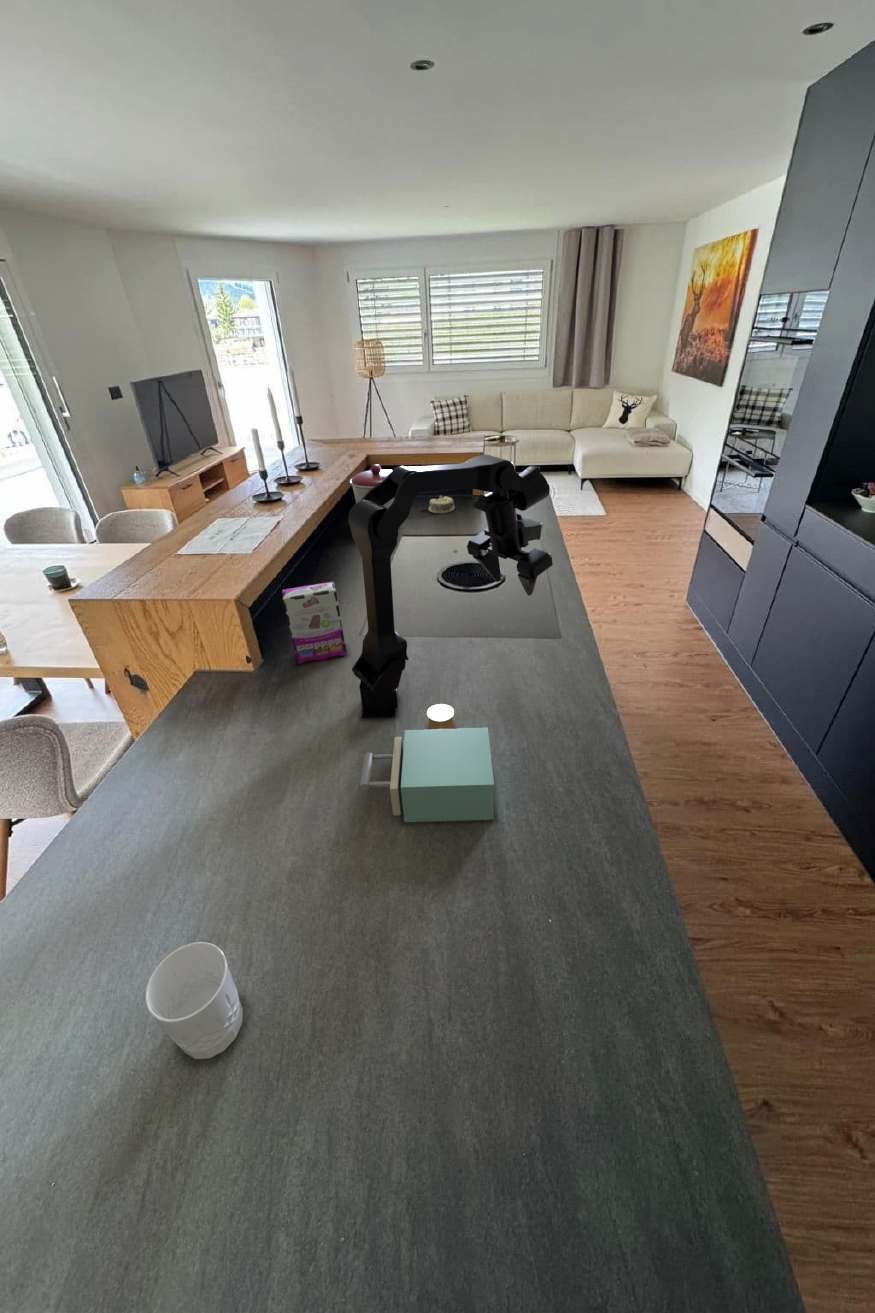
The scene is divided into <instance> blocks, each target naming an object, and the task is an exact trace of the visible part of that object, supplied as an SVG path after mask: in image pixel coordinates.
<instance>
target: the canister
mask: <svg viewBox="0 0 875 1313" xmlns="http://www.w3.org/2000/svg"><path fill="white" fill-rule="evenodd" d="M392 470H393V469H382V466H381V465H380V464H378V463H377V464H372V465H371V466H370V469H369V470H365V471H361V472H359V473H357V474H355V475H354V476H353V477H351V478H350V479H349V484H350V485H351V486H352V491H353V496H354V499H355V504H356V503H358V502H359V501H361V500H362V499H363V497H364V496H365V495H366V494H367V492H368V491H369V490H371V489H372V488H373V487H375V486H376V485H378V484H379V483H380V482H382V481H383V480H385V479H386V478H387V476H388V475H389V474H390V473H391V471H392ZM393 500H394V498H393V499H392V500H390V501H389V502H387V503H386V504H384V505H383V507H386V508H389V506H390V505H391V504H392V503H393Z"/></svg>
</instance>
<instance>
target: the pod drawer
mask: <svg viewBox="0 0 875 1313" xmlns="http://www.w3.org/2000/svg"><path fill="white" fill-rule="evenodd" d="M403 748H404V742H403V737H402V736H395V737H394V741H393V751H392V753H385V754H384V753H382V754H381V753H380V754H373V753H372V752H370V751H367V752H365V753H364V756H363V762H362V769H361V776H360V782H359V788H360V789H361V790H362V791H367V790H369V789H370V788H389V792H390V793H389V795H390V801H391V809H392V815H393V816H402V807H403V804H402V795H401V775H402V762H403ZM374 760H391V761H392V763H391V773H390V781H389V780H388V781H387V780H386V781H371V775H372V769H373V761H374Z"/></svg>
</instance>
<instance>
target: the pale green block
mask: <svg viewBox="0 0 875 1313" xmlns="http://www.w3.org/2000/svg"><path fill="white" fill-rule="evenodd" d="M491 754H492V753H491V745H490V737H489V728H488V727H464V728H453V729H429V728H428V729H405V730H404V737H403V762H402V775H401V795H402V810H403V811H402V812H403V821H404V823H426V822H429V823H430V822H461V821H462V822H463V821H493V820H494V818H495V816H494V814H495V811H494V810H495V780H494V770H493V762H492V755H491Z"/></svg>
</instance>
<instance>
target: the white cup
mask: <svg viewBox="0 0 875 1313" xmlns="http://www.w3.org/2000/svg"><path fill="white" fill-rule="evenodd" d="M144 993H145V994H144V1001H145V1006H146V1009H147V1011H148V1012H149V1013H148V1014H150V1015H151V1017H152V1018H153V1019H154V1020H155V1021H156V1023H158V1025H159V1026H160V1027H161V1029H162V1030H163V1031H164V1032H165V1033H166V1035H168V1037H169V1038H170V1039H171V1040H172V1041H173V1043H175V1044H176V1045H177V1046H178V1047H179V1048H180V1049H181V1050H182V1051H183V1053H184V1054H186V1055H188V1056H189V1057H191V1058H193V1060H207V1059H208V1060H209V1059H212V1058H213V1057H215V1056H217V1055H219V1054H221V1053H223V1052H225V1050H227V1048H228V1047H229V1046H231V1044H232V1043H233V1042H234V1041H235V1039H236V1038H237V1036H238V1034H239V1032H240V1030H241V1028H242V1025H243V1017H244V1012H243V1011H244V1009H243V1006H242V1003H241V1001H240V996H239V991H238V989H237V986H236V982H235V979H234V976H233V973H232V972H231V969H230V966H229V963H228V960H227V958H226V956H225V953H224V952H223V950H222V949H220V947H218V946H217V945H215V944H213V943H210V942H205V941H197V942H190V943H188V944H185V945H183V946H180V947H178V948H177V949H175V950H173V951H172V952H170V953H169V954H167V956H166V957H164V958H163V959H162V960H161V961H160V962H159V963H158V964H157V966H156V967H155V968H154V970H153V972H152V973H151V975H150V977H149V979H148V981H147V984H146V988H145V992H144Z"/></svg>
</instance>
